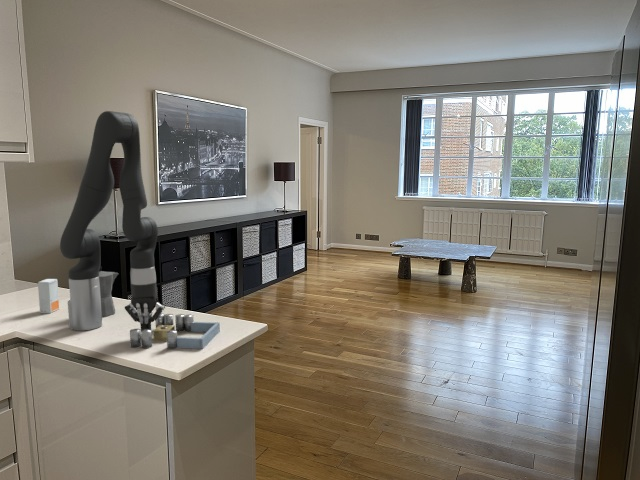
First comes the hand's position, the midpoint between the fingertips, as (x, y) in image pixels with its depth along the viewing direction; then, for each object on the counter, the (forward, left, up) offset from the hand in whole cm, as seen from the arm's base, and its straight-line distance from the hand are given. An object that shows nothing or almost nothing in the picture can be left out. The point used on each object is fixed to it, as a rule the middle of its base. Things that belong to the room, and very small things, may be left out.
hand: (146, 334), depth 153 cm
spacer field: (+6, 0, -1) cm, 6 cm away
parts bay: (+16, 0, -1) cm, 17 cm away
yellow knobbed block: (+6, 0, -1) cm, 6 cm away
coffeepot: (-29, +22, -1) cm, 36 cm away
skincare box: (-50, +24, -1) cm, 55 cm away
